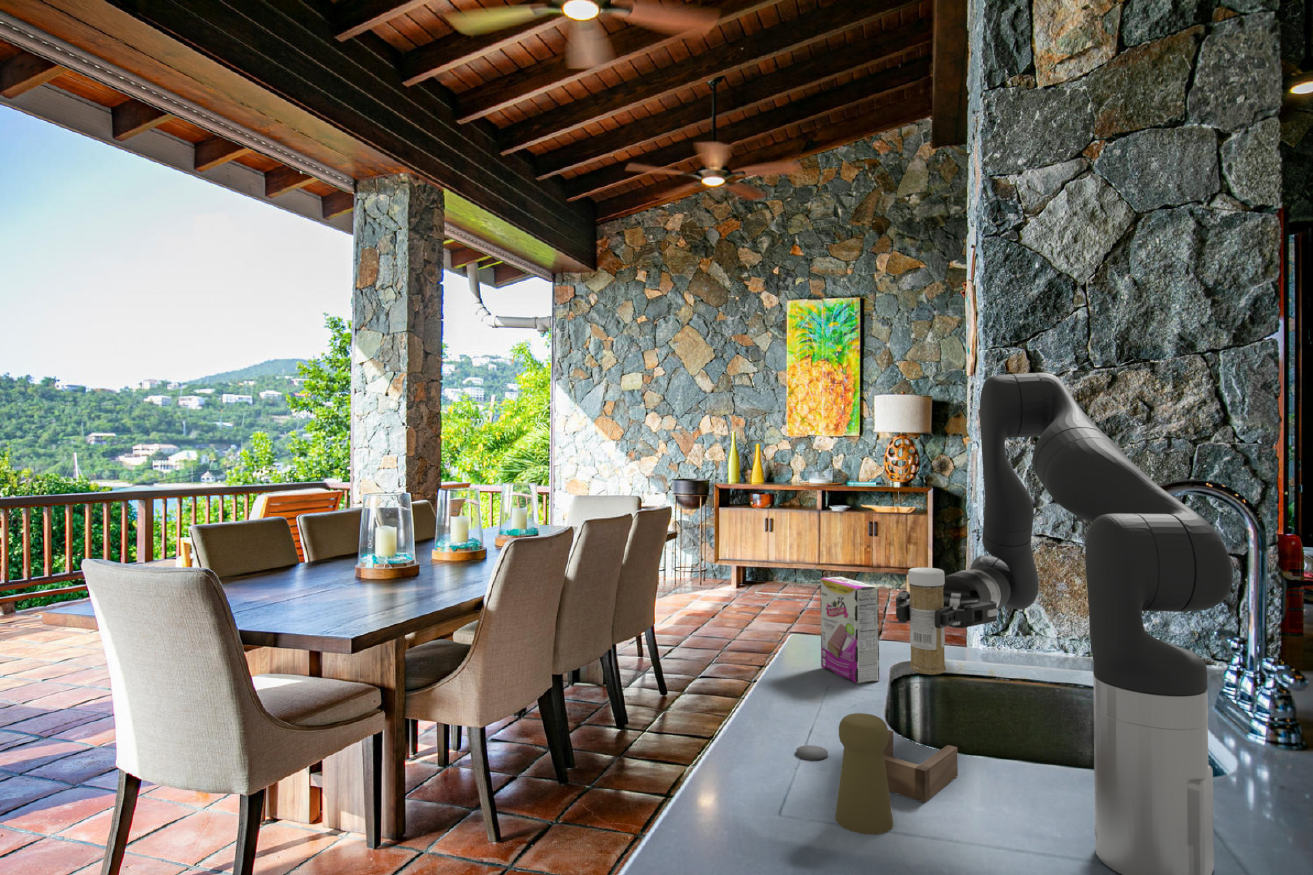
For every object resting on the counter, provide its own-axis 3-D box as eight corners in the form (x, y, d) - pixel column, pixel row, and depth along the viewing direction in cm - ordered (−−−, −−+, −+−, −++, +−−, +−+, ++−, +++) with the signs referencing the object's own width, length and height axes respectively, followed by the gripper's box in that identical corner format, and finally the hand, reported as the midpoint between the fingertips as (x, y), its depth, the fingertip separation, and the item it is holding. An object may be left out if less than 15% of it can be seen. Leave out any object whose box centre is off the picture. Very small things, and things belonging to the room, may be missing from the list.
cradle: (957, 776, 94) (957, 747, 94) (925, 802, 87) (925, 770, 87) (884, 756, 100) (884, 728, 100) (849, 778, 93) (849, 749, 93)
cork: (850, 802, 87) (849, 703, 87) (902, 818, 83) (902, 715, 83) (825, 822, 82) (824, 717, 83) (879, 840, 79) (878, 730, 79)
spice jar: (952, 671, 103) (951, 569, 103) (931, 677, 100) (930, 573, 100) (923, 663, 106) (922, 565, 106) (902, 669, 104) (900, 568, 104)
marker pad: (833, 753, 101) (833, 750, 101) (817, 762, 98) (817, 759, 98) (806, 745, 104) (806, 742, 104) (790, 754, 101) (790, 751, 101)
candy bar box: (819, 668, 141) (818, 577, 142) (842, 665, 143) (841, 575, 143) (856, 685, 131) (855, 587, 131) (880, 681, 133) (880, 585, 133)
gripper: (918, 566, 119) (867, 582, 106) (1017, 576, 109) (974, 595, 96) (918, 616, 119) (868, 637, 106) (1017, 630, 109) (975, 655, 96)
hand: (919, 617), depth 101 cm, fingers closed on spice jar, 4 cm apart
